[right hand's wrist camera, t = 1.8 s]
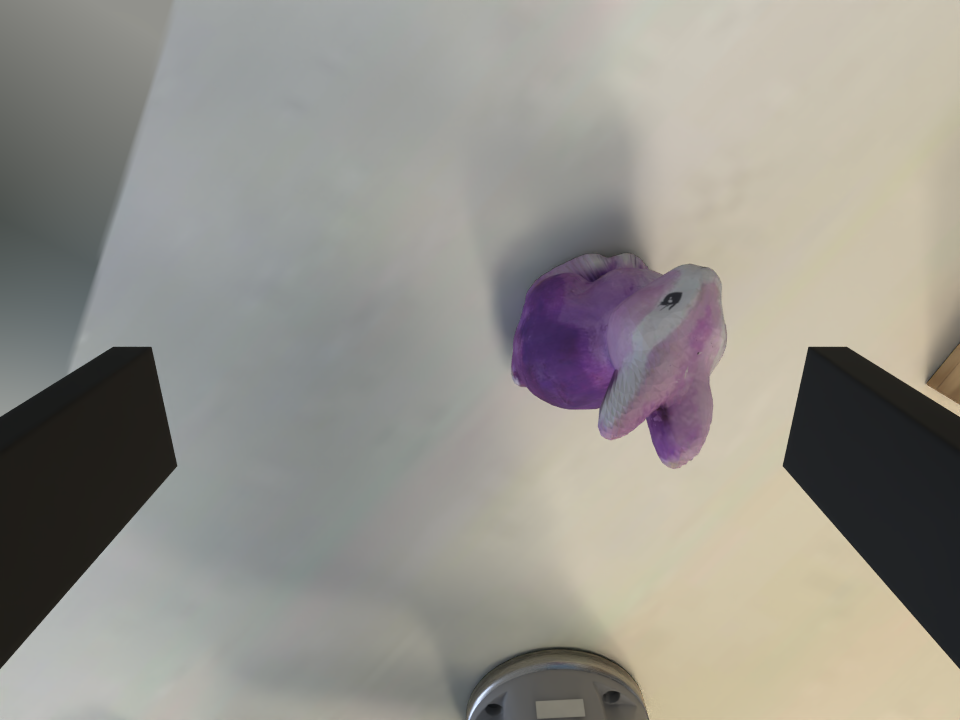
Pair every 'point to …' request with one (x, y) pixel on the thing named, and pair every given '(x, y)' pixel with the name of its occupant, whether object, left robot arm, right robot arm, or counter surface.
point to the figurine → (625, 347)
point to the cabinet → (948, 377)
